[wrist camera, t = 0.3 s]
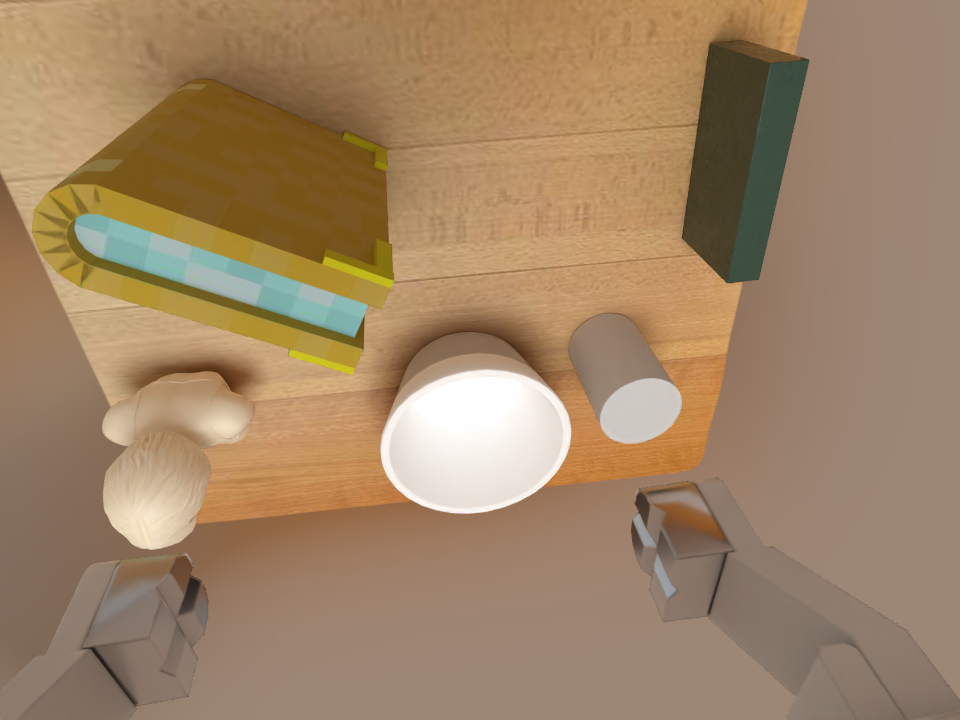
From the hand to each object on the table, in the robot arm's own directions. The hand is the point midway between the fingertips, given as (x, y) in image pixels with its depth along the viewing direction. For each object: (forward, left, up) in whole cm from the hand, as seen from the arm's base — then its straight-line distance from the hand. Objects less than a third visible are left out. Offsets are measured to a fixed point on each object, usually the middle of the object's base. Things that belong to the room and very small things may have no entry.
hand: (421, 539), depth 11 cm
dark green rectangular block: (+9, +29, -48) cm, 57 cm away
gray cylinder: (+30, +20, -48) cm, 60 cm away
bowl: (+33, +4, -48) cm, 59 cm away
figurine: (+29, -24, -48) cm, 61 cm away
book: (+5, -10, -48) cm, 49 cm away
